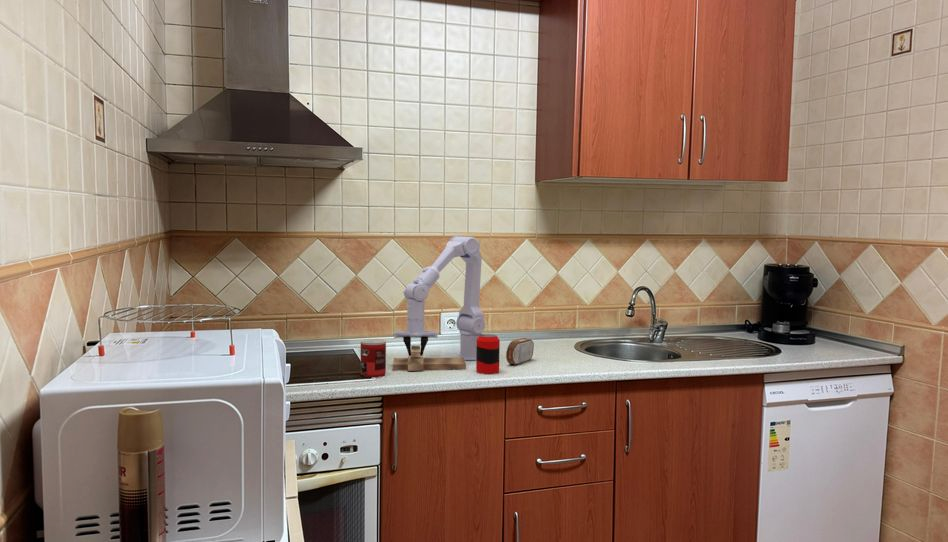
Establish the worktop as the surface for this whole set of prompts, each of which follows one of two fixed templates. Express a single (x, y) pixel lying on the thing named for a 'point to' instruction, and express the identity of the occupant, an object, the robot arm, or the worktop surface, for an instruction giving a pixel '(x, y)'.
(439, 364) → the board
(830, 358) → the worktop surface
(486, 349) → the soda can
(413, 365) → the wooden block
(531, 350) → the tin
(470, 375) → the worktop surface
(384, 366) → the canned food
